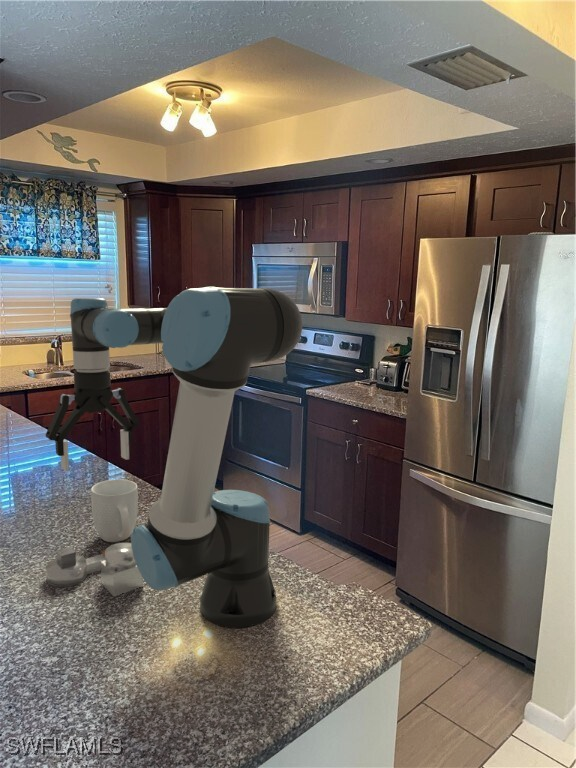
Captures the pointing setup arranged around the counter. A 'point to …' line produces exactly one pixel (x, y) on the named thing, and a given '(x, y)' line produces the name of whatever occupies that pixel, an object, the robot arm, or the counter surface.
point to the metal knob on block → (120, 569)
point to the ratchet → (71, 568)
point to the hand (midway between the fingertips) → (96, 463)
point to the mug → (114, 509)
